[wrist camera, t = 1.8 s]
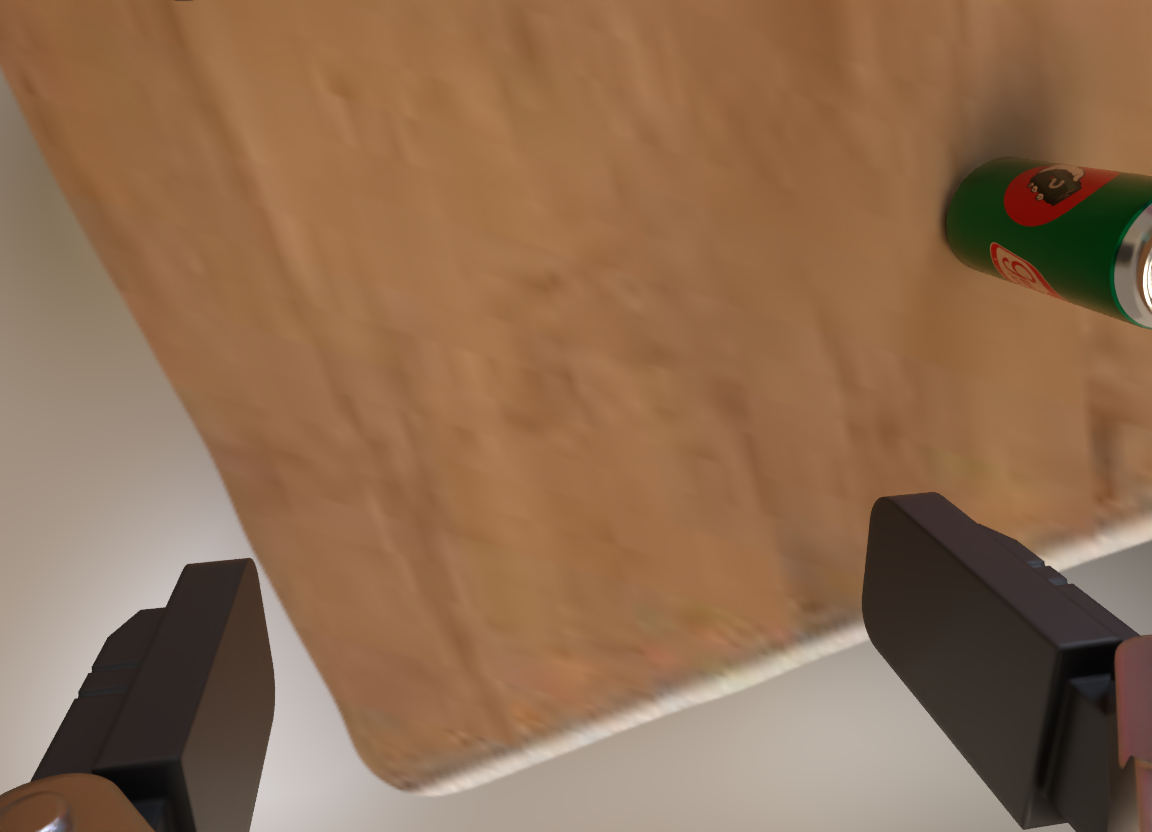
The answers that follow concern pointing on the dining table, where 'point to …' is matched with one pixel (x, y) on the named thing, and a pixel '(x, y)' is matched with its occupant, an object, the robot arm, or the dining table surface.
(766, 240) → the dining table surface
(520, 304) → the dining table surface
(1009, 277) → the soda can
